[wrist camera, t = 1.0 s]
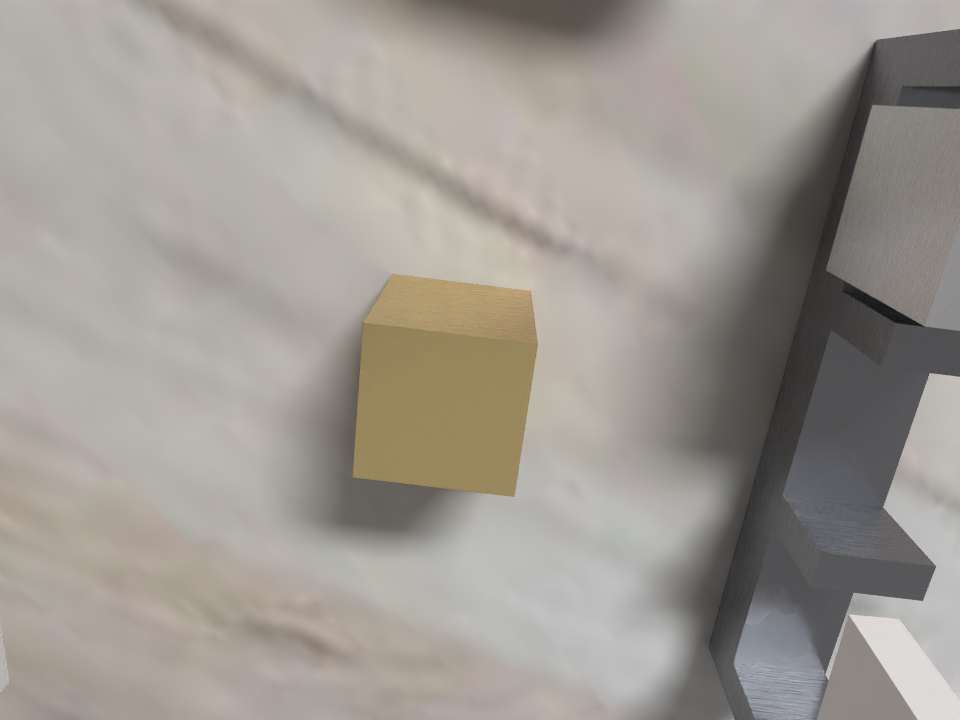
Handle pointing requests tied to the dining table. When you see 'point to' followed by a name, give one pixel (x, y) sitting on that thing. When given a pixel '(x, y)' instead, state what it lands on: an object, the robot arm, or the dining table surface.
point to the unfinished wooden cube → (445, 385)
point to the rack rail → (834, 448)
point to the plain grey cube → (905, 215)
